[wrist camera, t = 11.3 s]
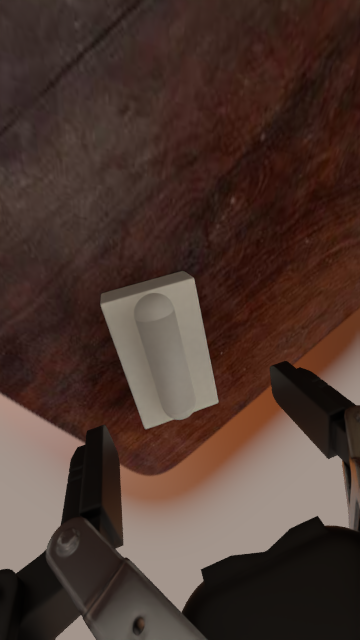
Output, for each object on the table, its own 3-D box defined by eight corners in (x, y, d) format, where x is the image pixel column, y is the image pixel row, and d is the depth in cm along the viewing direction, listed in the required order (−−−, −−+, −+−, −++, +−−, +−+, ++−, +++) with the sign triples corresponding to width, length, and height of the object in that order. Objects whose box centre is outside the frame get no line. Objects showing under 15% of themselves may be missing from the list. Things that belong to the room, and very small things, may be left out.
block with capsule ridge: (207, 384, 22) (225, 413, 18) (141, 408, 21) (147, 443, 17) (183, 270, 18) (200, 281, 15) (100, 293, 17) (99, 311, 14)
